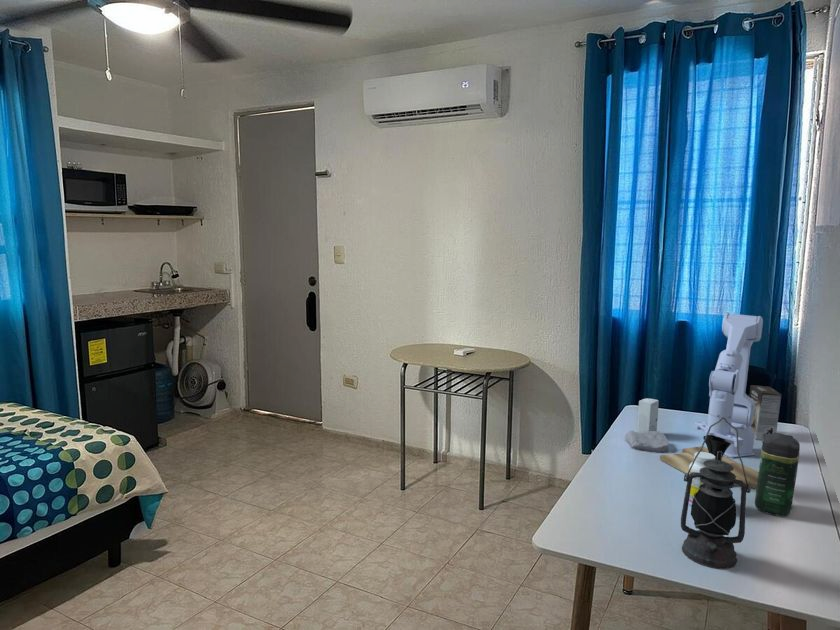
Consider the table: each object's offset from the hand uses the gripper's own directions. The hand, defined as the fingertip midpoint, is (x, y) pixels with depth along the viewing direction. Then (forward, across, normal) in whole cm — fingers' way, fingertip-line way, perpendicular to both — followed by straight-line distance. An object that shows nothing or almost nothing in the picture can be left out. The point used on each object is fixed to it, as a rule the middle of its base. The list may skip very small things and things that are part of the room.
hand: (715, 463), depth 161 cm
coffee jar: (+6, +16, +3) cm, 17 cm away
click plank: (+5, -7, +2) cm, 9 cm away
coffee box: (+6, -25, +44) cm, 51 cm away
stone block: (+6, -27, 0) cm, 27 cm away
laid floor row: (+5, -7, +12) cm, 14 cm away
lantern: (+6, +28, -29) cm, 41 cm away
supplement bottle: (+6, +9, -13) cm, 17 cm away
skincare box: (+6, -35, +6) cm, 36 cm away
